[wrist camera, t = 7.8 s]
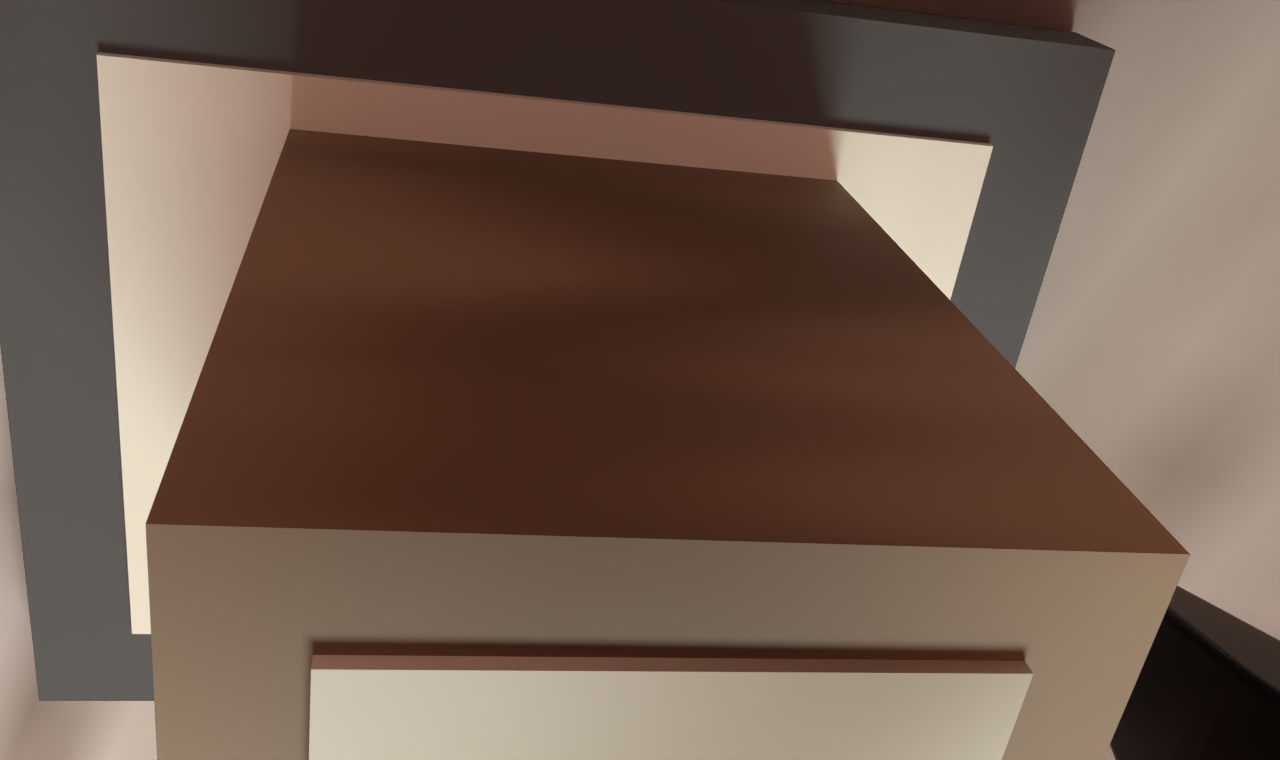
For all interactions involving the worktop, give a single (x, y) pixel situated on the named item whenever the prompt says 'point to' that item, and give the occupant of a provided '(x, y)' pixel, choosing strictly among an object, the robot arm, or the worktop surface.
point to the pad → (452, 114)
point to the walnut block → (623, 485)
